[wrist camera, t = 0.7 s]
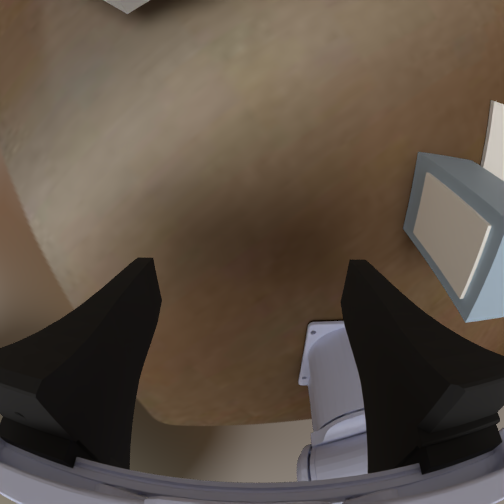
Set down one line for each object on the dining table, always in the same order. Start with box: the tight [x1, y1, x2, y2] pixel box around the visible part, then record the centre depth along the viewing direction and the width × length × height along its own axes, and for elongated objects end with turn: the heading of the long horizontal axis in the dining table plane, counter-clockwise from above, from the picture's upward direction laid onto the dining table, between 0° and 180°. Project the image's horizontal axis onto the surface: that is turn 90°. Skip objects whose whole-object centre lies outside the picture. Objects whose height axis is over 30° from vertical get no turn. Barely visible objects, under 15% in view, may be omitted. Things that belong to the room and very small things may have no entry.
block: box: [403, 152, 504, 323], centre depth 16 cm, size 6×5×10 cm
